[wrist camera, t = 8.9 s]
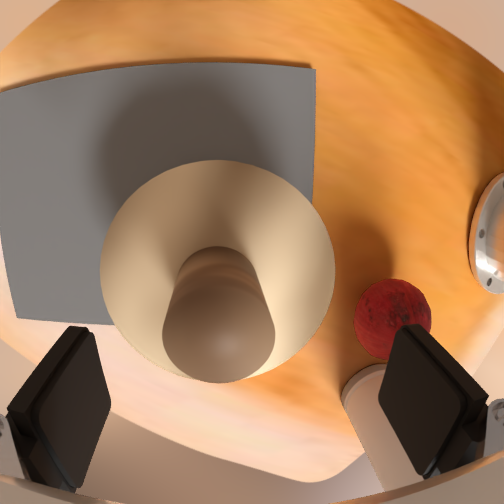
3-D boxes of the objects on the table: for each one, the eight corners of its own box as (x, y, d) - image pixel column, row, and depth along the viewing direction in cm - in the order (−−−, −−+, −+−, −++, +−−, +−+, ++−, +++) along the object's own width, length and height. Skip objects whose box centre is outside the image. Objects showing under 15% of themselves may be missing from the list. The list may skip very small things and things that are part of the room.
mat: (313, 71, 20) (315, 69, 19) (300, 320, 25) (302, 323, 24) (1, 94, 17) (-3, 93, 17) (20, 315, 22) (17, 318, 22)
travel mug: (341, 420, 29) (414, 583, 10) (338, 374, 27) (438, 564, 8) (395, 401, 29) (486, 543, 10) (399, 354, 27) (522, 509, 8)
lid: (337, 164, 16) (397, 171, 10) (316, 366, 19) (348, 433, 13) (98, 163, 14) (39, 171, 9) (122, 368, 18) (97, 439, 12)
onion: (332, 281, 24) (377, 332, 17) (396, 255, 24) (456, 293, 17) (346, 339, 26) (386, 399, 18) (404, 314, 26) (455, 362, 19)
